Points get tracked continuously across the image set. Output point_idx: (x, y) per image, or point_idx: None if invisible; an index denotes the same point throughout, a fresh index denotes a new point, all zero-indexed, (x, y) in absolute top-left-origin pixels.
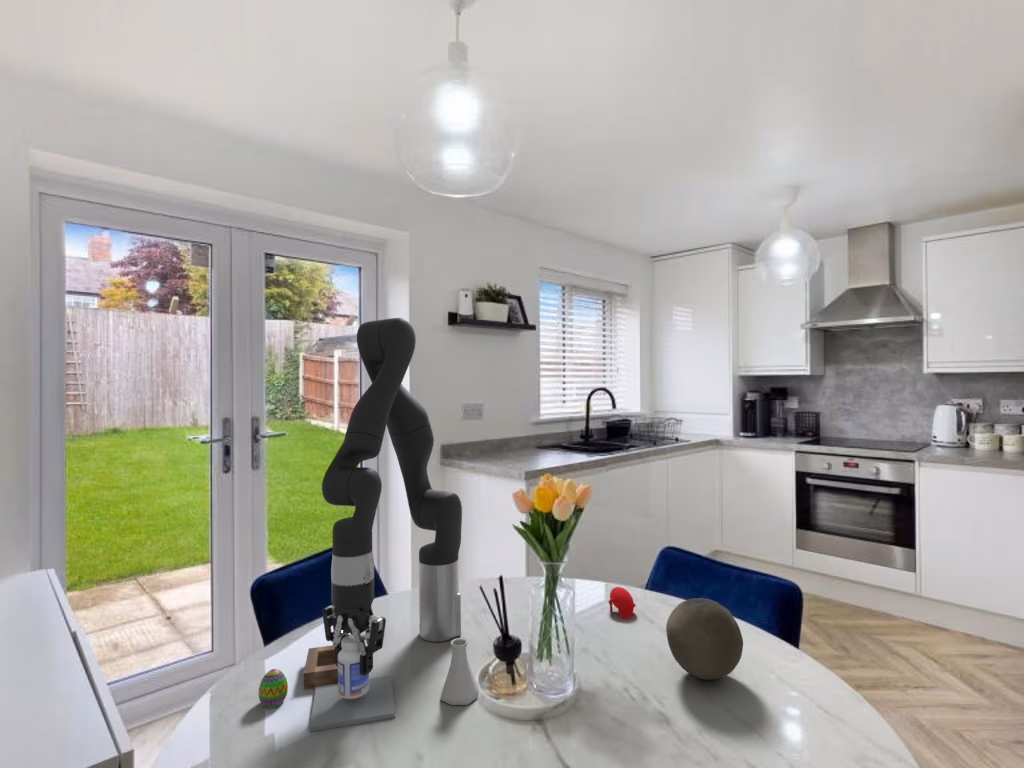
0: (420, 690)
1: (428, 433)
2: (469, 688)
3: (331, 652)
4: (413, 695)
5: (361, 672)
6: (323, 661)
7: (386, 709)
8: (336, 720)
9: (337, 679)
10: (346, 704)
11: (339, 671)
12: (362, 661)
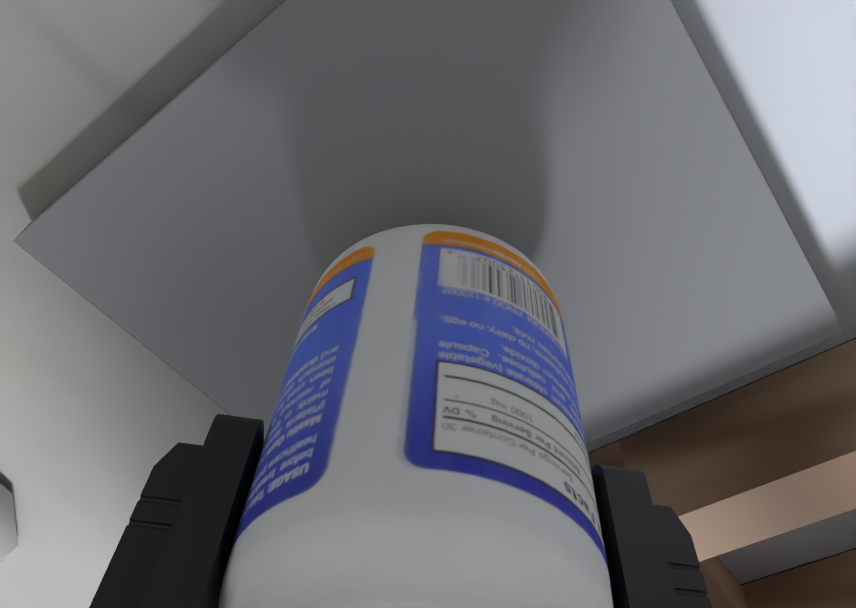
0: (139, 474)
1: None
2: None
3: None
4: (135, 432)
5: (231, 435)
6: None
7: (102, 254)
8: None
9: (710, 431)
10: (441, 215)
11: (505, 394)
12: (168, 550)
